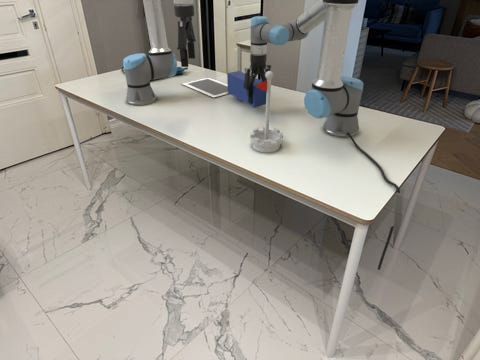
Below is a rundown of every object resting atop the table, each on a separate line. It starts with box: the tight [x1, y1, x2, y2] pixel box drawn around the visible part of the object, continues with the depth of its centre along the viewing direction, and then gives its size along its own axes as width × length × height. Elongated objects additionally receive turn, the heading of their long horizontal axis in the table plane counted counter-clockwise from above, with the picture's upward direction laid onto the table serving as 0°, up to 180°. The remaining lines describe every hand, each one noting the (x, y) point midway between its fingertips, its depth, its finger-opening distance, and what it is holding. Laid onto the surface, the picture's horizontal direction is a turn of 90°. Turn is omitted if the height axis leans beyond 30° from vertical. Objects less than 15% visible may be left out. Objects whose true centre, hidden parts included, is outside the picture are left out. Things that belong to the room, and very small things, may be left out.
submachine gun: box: [152, 66, 189, 81], centre depth 223 cm, size 34×4×25 cm
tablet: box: [181, 77, 230, 99], centre depth 200 cm, size 32×20×1 cm, turn 41°
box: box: [226, 70, 267, 108], centre depth 173 cm, size 25×8×11 cm, turn 33°
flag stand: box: [249, 70, 284, 153], centre depth 129 cm, size 13×13×30 cm
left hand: (188, 62), depth 140 cm, fingers open, 13 cm apart
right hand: (257, 101), depth 169 cm, fingers closed on box, 7 cm apart
